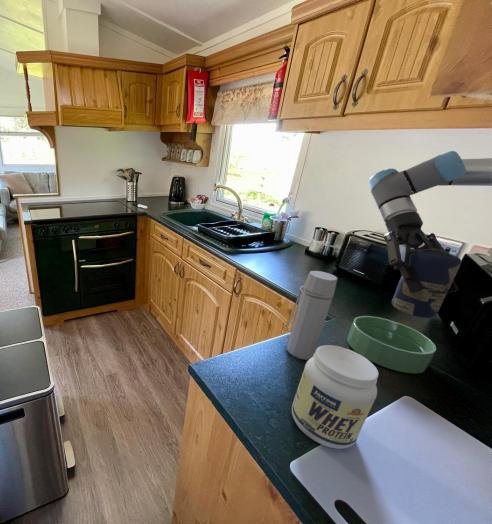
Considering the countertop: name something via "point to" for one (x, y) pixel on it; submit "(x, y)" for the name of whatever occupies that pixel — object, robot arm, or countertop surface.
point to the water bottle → (310, 314)
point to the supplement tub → (335, 396)
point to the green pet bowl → (391, 344)
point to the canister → (427, 282)
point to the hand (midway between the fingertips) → (434, 291)
